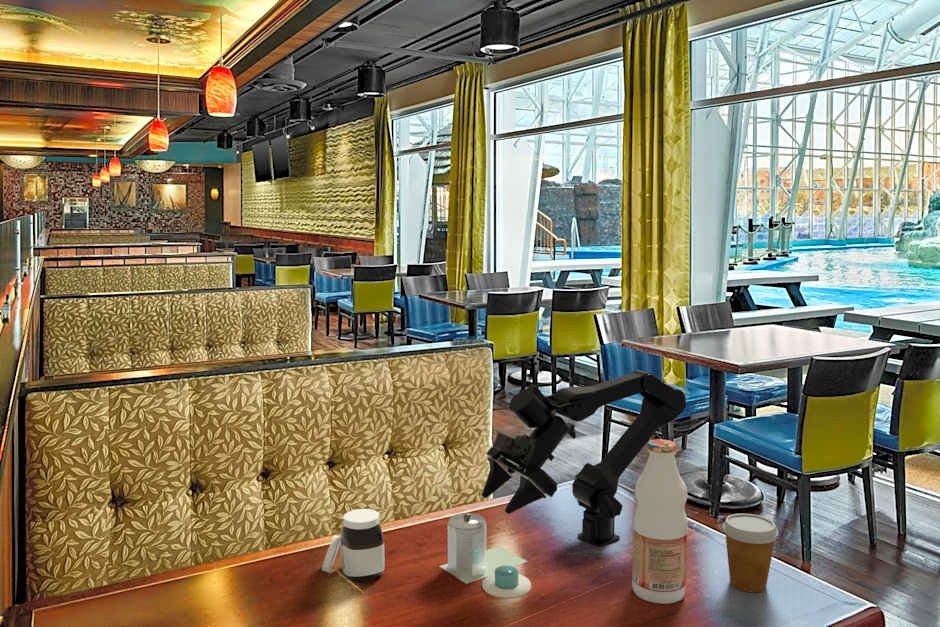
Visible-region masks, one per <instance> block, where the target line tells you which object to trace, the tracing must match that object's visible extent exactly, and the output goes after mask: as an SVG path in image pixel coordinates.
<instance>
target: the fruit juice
mask: <svg viewBox="0 0 940 627" xmlns="http://www.w3.org/2000/svg"><path fill="white" fill-rule="evenodd" d="M647 452H648V453H649V455H648V458H647V460H646V463H645V467H644V469H643V471H642V473H641V475H640V476H639V477H638V479H637V480H636V482H635V486H634V495H635V499H636V504H637V505H636V508H635V510H634V513H633V519H632V520H633V522H632V523H633V524H632V525H633V527H632V529H633V530H632V571H631V572H632V577H631V578H632V579H631V584H632V590H633V592H634V595H636V596H637V597H638V598H640V599H642V600H644V601H646V602H650V603H653V604H660V605H668V604H669V605H670V604H674V603H677V602H679V601H681V600H683V598H684V597H685V593H686V585H687V584H686V583H687V552H688V551H687V548H688V546H687V545H688V544H687V543H688V518H687V513H686V511H685V506H686V502H687V500H688V489H687V484H686V483H685V481H684V479H683V477H682V476H681V474H680V472H679V470H678V465H677V462H676V458H675V454H676V453H677V444H676V442H674V441H672V440H670V439H669V440H668V439H661V438H659V439H658V438H656V439H651V440H649V441H648V442H647Z"/></svg>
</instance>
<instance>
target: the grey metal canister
mask: <svg viewBox="0 0 940 627" xmlns="http://www.w3.org/2000/svg"><path fill="white" fill-rule="evenodd" d="M448 519H449V520H448V523H447V526H446V527H447V563H448V572H447V573H449V574H451V575H452V576H453V577H455V578H456V579H458V578H470V579H473V578H475V577H478V576H481V575H484V574H485V571H486V567H487V556H486V550H487V520H486V518H485V517H484V516H482V515H480V514H478V513H472V512H462V513H457V514H455V515H451V516H450V517H449V518H448Z"/></svg>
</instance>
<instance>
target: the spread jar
mask: <svg viewBox="0 0 940 627" xmlns="http://www.w3.org/2000/svg"><path fill="white" fill-rule="evenodd" d="M342 517H343V519H342V520H343V522H342V523H343V525H342V526H341V530H340V534H339V535H340V536H337V535H333V537H332V539H331V542H330V544H329V547H328V549H327V551H326V555H325V558H324V559H323V560H324V561H323V564H322V569H321V570H322V571H323V572H326V573H330V571H331V569H332V568H333V565H334V562H335V559H336V557H337V554H338V550H339V548H340V561H341V563H340V564H341V568H342V569H341V570H342V574H343V576H344V578H346V579H347V580H350V581H354V582H366V581H370V580H371V581H372V580H374V579H376V578H378V577H380V576H381V575H382V574H383V573H384V571H385V561H386V560H385V541H384V540H385V539H384V534H383V529H382V526H381V525H380V513H379V512H378V511H376V510H374V509H370V508H359V509H357V508H356V509H352V510H349V511H347V512H346V513H344V514H343V516H342Z"/></svg>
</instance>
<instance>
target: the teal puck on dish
mask: <svg viewBox="0 0 940 627" xmlns="http://www.w3.org/2000/svg"><path fill="white" fill-rule="evenodd" d="M519 572H520V571H519V569H518V568H517V566H515V567H513V566H507V565H505V566H499V567H497V568H496V569H495V574H492V575H490V576H487V577H484V578H483V580H482V584H481V586H482V589H483V590H484V591H485V593H487V594H489V595H491V596H494V597H497V598H506V599H507V598H509V599H510V598H518V597H522V596H523V595H526V594H527V593H529V592H530V590H531V588H532V582H531V581H530V579H529V578H528V577H526V576H524V575H522V574H519Z"/></svg>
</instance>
